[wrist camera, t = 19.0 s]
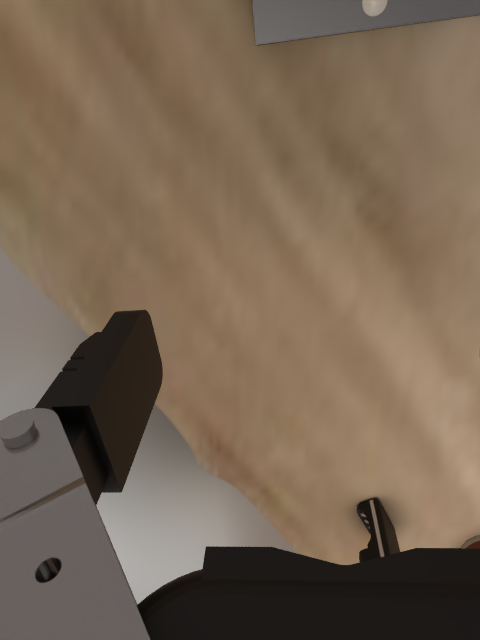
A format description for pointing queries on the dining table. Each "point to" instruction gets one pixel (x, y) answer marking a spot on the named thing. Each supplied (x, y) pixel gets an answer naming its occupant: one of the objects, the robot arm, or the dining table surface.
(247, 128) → the dining table surface
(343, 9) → the socket holder
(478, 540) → the coffee cup
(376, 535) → the battery charger
